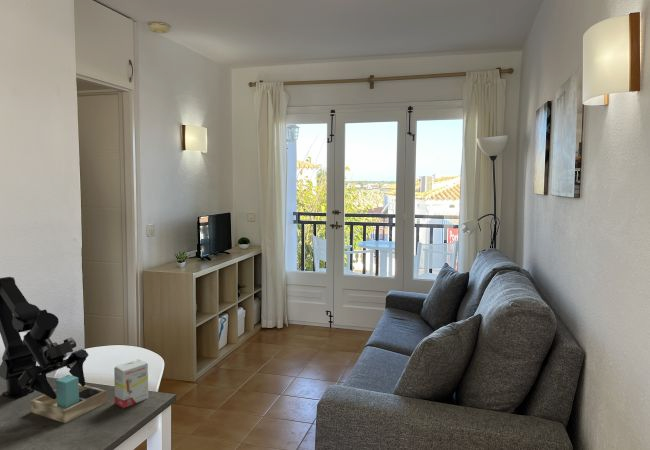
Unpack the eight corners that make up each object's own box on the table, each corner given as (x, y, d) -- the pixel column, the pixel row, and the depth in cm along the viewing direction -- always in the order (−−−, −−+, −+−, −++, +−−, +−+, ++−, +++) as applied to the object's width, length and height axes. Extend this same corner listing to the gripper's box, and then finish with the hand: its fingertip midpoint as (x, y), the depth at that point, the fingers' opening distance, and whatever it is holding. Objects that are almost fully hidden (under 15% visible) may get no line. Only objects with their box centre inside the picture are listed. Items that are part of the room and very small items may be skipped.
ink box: (123, 409, 145) (122, 371, 144) (114, 404, 148) (113, 366, 147) (149, 399, 152) (148, 362, 150) (140, 395, 155) (139, 358, 153)
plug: (57, 415, 140) (55, 380, 139) (69, 409, 143) (68, 374, 142) (67, 418, 138) (65, 382, 137) (79, 412, 142) (78, 377, 141)
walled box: (31, 413, 142) (30, 400, 141) (74, 394, 154) (73, 381, 154) (65, 424, 136) (64, 410, 135) (106, 403, 149) (106, 390, 148)
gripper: (22, 341, 131) (53, 389, 128) (83, 322, 148) (111, 364, 145) (5, 364, 135) (34, 411, 132) (65, 344, 152) (92, 385, 149)
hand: (70, 391), depth 139 cm, fingers open, 9 cm apart
